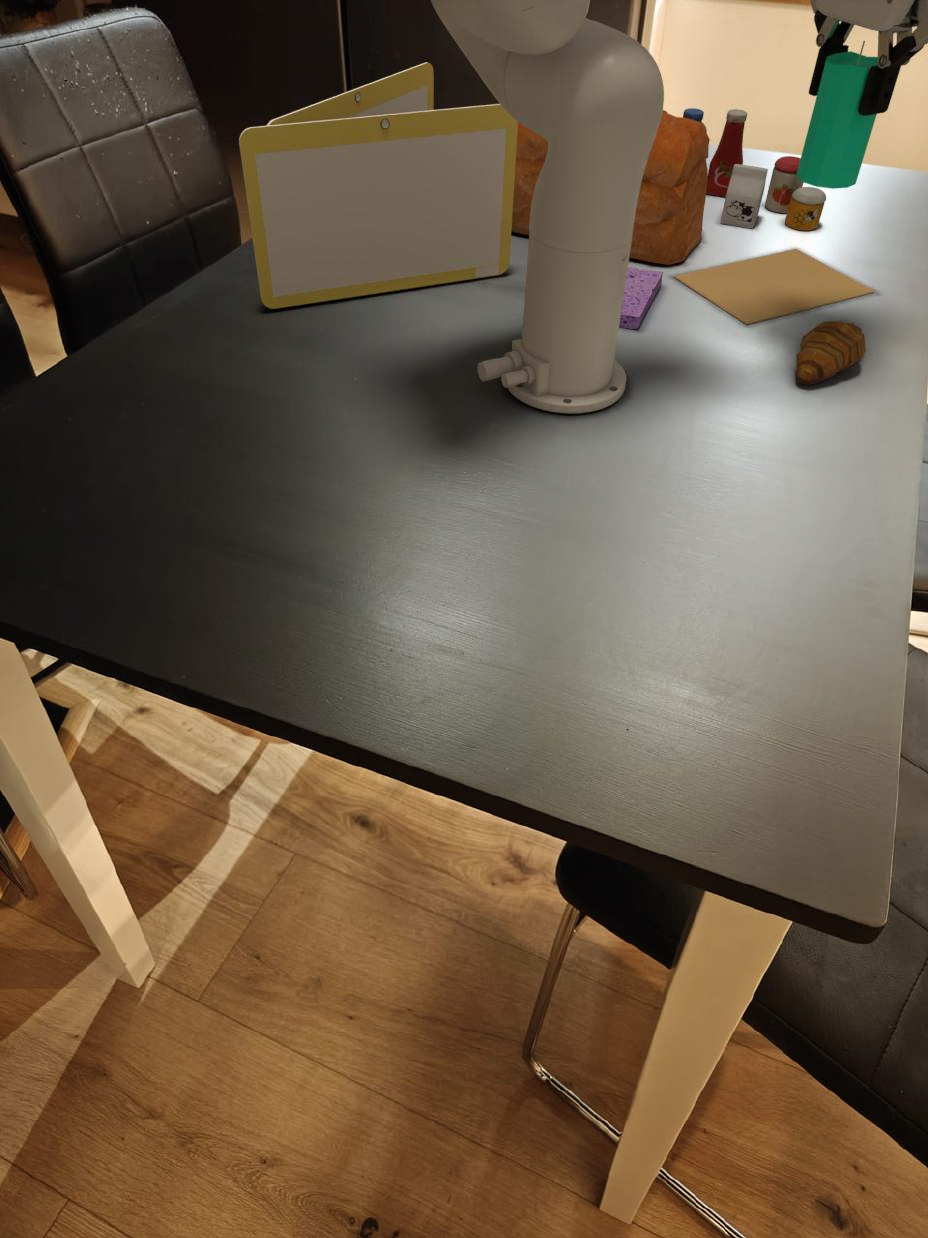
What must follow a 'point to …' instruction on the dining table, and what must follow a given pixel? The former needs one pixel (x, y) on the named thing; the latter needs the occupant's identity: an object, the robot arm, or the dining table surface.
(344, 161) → the tabletop whiteboard easel
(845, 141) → the candle
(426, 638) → the dining table surface
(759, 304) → the place mat
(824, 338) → the croissant
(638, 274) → the sponge
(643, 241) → the bread
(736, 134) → the toy food
